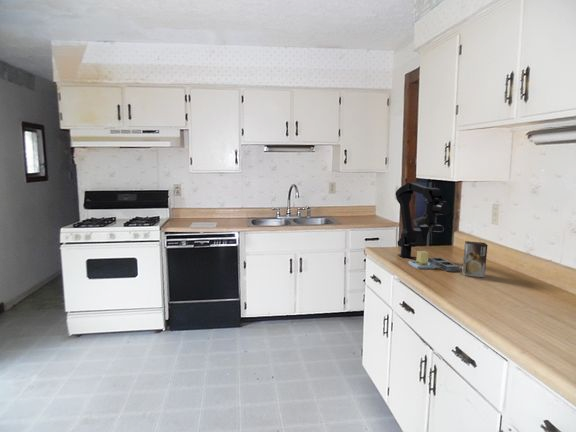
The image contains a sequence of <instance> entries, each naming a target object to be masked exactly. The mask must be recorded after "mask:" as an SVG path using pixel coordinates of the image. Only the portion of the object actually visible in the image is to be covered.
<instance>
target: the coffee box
mask: <svg viewBox="0 0 576 432" xmlns="http://www.w3.org/2000/svg"><path fill="white" fill-rule="evenodd" d="M487 255H488V244H487V243H485V242H481V241H467V240H464V249H463V258H462V259H463V261H462V269H461V270H462V271H461V273H462V275H464V277H465V276H466V277H475V278H476V277H477V278H478V277H479V278H485V277H486V265H487Z"/></svg>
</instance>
